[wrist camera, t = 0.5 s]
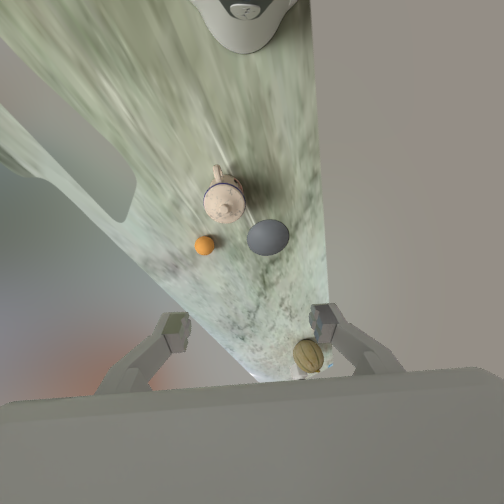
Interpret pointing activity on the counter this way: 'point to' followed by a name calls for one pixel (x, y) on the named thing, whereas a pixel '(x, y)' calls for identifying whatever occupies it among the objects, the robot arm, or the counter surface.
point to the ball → (204, 245)
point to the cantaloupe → (308, 356)
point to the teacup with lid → (224, 198)
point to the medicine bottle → (297, 372)
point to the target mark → (267, 237)
